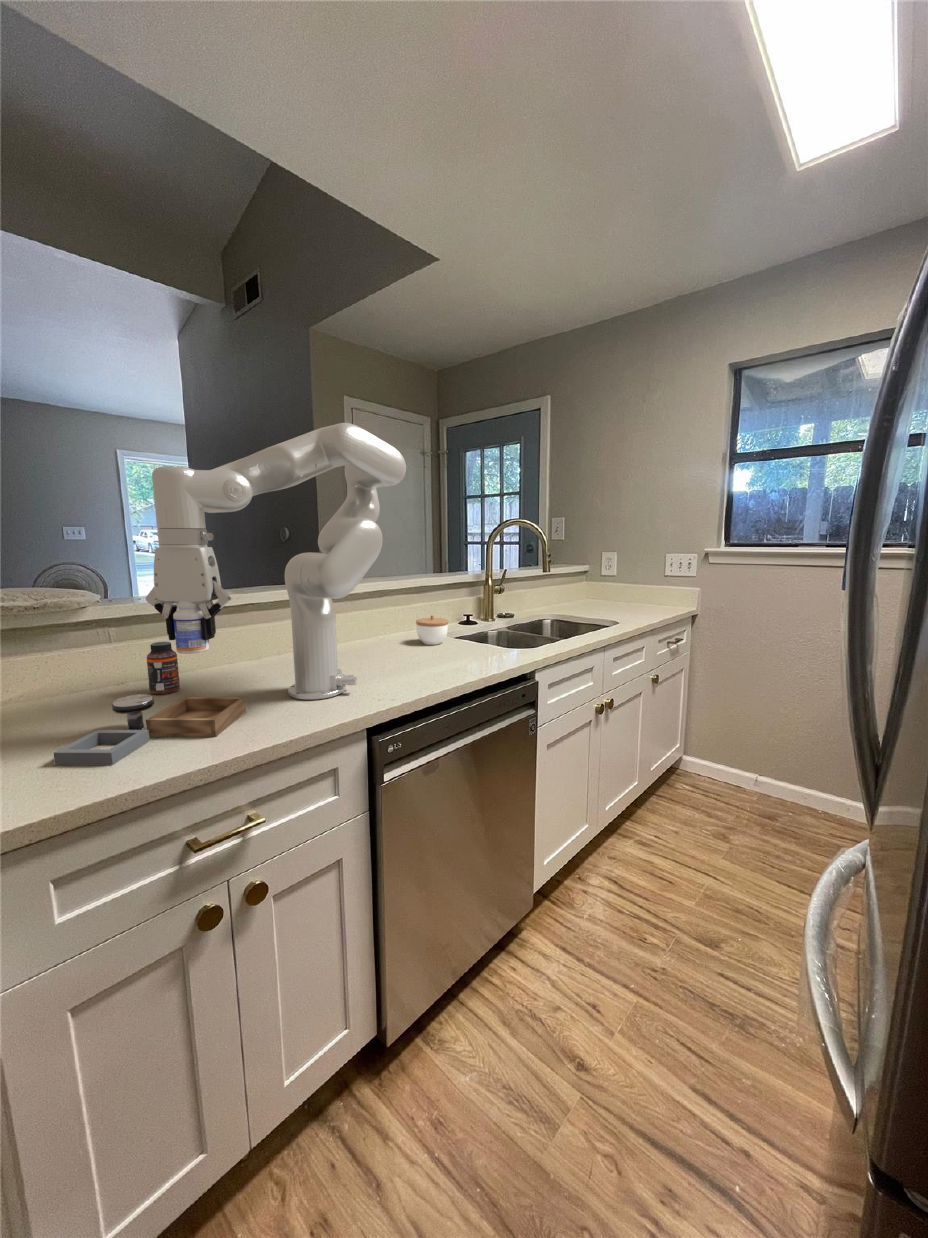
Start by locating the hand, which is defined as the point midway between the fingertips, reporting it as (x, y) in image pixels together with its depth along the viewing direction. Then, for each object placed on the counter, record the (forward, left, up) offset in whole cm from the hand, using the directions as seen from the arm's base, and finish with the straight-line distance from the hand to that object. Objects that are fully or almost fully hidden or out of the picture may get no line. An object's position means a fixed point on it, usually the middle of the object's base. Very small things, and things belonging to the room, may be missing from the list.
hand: (192, 637), depth 90 cm
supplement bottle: (+19, -19, -17) cm, 32 cm away
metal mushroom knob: (+11, +3, -17) cm, 20 cm away
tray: (0, 0, -17) cm, 17 cm away
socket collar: (+9, +13, -17) cm, 23 cm away
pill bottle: (0, 0, -3) cm, 3 cm away
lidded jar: (-39, -71, -17) cm, 83 cm away
